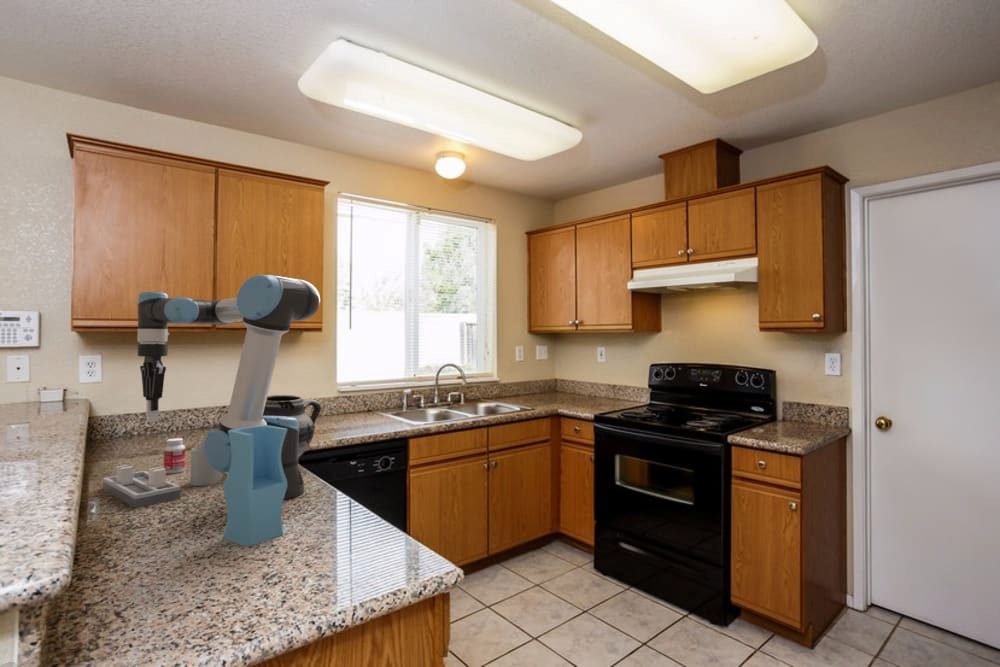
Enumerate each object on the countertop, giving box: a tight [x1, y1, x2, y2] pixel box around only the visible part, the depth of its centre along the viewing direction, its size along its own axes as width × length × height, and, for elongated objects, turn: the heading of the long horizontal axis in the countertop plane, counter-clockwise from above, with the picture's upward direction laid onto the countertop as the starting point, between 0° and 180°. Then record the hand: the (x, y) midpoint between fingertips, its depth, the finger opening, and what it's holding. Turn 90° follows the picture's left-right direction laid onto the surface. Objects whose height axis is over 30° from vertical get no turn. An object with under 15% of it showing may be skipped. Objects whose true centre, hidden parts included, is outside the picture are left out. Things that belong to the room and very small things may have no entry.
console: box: [102, 470, 181, 509], centre depth 150 cm, size 27×11×3 cm, turn 53°
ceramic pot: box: [263, 394, 322, 458], centre depth 184 cm, size 29×23×25 cm
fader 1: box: [115, 464, 134, 486], centre depth 151 cm, size 4×3×5 cm
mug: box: [189, 445, 222, 487], centre depth 164 cm, size 12×8×11 cm
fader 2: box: [148, 466, 167, 488], centre depth 149 cm, size 4×3×5 cm
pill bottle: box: [163, 437, 186, 475], centre depth 174 cm, size 6×6×11 cm
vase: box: [222, 425, 287, 547], centre depth 120 cm, size 10×10×25 cm
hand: (152, 421), depth 153 cm, fingers closed
